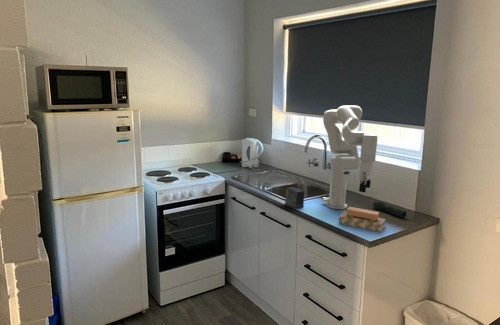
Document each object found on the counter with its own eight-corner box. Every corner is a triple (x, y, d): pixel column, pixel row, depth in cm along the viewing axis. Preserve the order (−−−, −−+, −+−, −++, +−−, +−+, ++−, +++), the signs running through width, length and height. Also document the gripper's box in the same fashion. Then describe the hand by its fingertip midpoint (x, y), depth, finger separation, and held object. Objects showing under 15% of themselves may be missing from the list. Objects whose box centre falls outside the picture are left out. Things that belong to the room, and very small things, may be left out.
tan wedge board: (345, 223, 208) (346, 209, 206) (348, 220, 212) (349, 206, 210) (375, 229, 200) (377, 214, 198) (377, 226, 204) (379, 212, 202)
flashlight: (377, 207, 236) (378, 199, 235) (406, 218, 219) (407, 209, 218) (372, 208, 234) (372, 200, 233) (400, 219, 217) (401, 211, 215)
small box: (304, 207, 232) (305, 190, 230) (296, 209, 228) (297, 192, 226) (292, 202, 240) (293, 186, 238) (284, 204, 237) (285, 187, 234)
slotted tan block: (338, 223, 207) (339, 216, 206) (344, 217, 215) (344, 211, 215) (380, 232, 196) (381, 224, 195) (384, 226, 205) (385, 219, 204)
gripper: (364, 154, 207) (361, 184, 211) (356, 159, 193) (353, 192, 196) (378, 156, 204) (375, 187, 207) (371, 161, 189) (367, 194, 193)
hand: (364, 189), depth 202 cm, fingers open, 9 cm apart
